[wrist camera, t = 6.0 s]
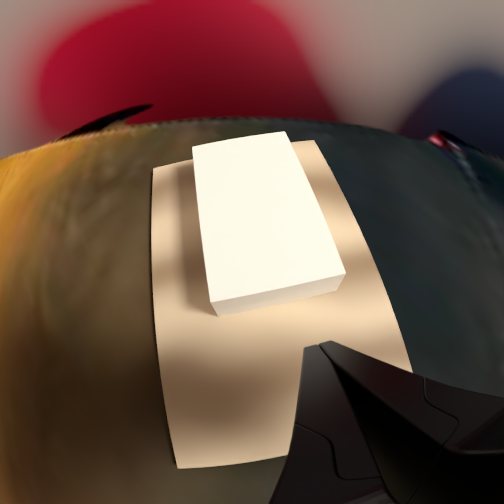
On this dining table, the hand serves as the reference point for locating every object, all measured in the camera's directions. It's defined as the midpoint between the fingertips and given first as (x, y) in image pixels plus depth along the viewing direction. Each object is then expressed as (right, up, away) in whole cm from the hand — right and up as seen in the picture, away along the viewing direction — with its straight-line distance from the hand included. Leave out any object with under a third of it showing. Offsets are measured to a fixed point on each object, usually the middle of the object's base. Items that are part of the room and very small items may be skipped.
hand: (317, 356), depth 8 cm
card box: (0, +1, +7) cm, 7 cm away
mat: (-1, +2, +10) cm, 10 cm away
